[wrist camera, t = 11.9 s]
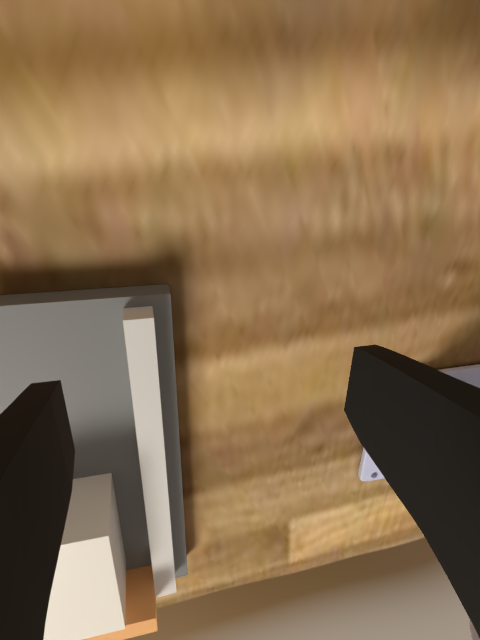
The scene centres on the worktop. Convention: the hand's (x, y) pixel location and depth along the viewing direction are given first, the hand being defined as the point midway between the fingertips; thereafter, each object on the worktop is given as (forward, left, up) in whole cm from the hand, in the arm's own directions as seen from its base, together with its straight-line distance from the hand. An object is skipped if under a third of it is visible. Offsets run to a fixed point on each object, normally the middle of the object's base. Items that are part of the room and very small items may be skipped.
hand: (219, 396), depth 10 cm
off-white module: (+6, +14, -8) cm, 17 cm away
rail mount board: (+6, +10, -9) cm, 15 cm away
